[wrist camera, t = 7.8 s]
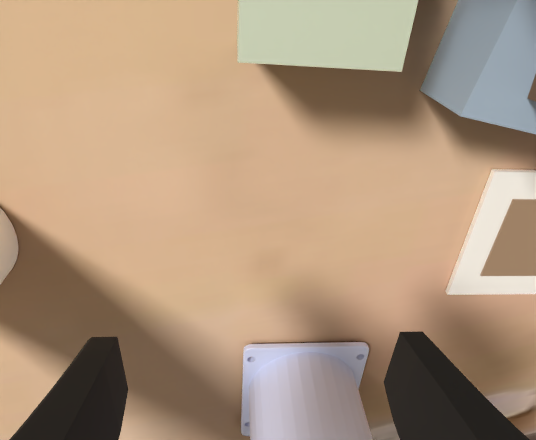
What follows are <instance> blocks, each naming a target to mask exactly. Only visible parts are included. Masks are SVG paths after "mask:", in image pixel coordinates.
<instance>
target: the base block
mask: <svg viewBox="0 0 536 440" xmlns="http://www.w3.org/2000/svg"><path fill="white" fill-rule="evenodd" d="M535 74H536V0H458V2H457V4H456V7H455V9H454V11H453V14H452V16H451V18H450V21H449V23H448V25H447V28H446V30H445V32H444V35H443V37H442V39H441V42H440V44H439V46H438V49H437V51H436V53H435V56H434V58H433V60H432V63H431V65H430V68H429V70H428V72H427V75H426V77H425V79H424V82H423V84H422V86H421V89H420V91H421V92H423V93H425V94H426V95H428V96H429V97H431V98H432V99H434V100H436V101H437V102H439V103H440V104H442V105H443V106H445V107H446V108H448V109H450V110H451V111H453V112H454V113H456V114H457V115H459V116H461V117H465V118H470V119H474V120H478V121H482V122H486V123H490V124H495V125H499V126H503V127H507V128H511V129H515V130H520V131H524V132H528V133H532V134H536V102H535V101H533V100H530V99H528V95H529V92H530V89H531V86H532V83H533V80H534V77H535Z"/></svg>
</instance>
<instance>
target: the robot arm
mask: <svg viewBox="0 0 536 440" xmlns="http://www.w3.org/2000/svg"><path fill="white" fill-rule="evenodd" d="M368 353H369V347H368V345H367V343H365V342H332V343H279V344H249V345H247V346H245V347H244V350H243V380H242V409H241V434H243V435H244V436H250V440H373V438H372V434H371V431H370V428H369V424H368V421H367V418H366V414H365V411H364V408H363V404H362V401H361V397H360V394H359V391H358V389H359V386H360V382H361V379H362V375H363V371H364V368H365V364H366V360H367V357H368ZM384 385H385V389H386V393H387V397H388V402H389V406H390V409H391V413H392V417H393V421H394V424H395V426H396V429H397V432H398V435H399V437H400V440H529V439H528V438H527V437H526V436H525V435H524V434H523V433H522V432H521V431H519V430H518V429H517V428H516V427H515V426H514V425H513V424H512V423H511V422H510V421H509V420H508V419H507V418H506V417H505V416H504V415H503V414H502V413H501V412H499V411H498V410H497V409H496V408H495V407H494V406H493V405H492V404H491V403H490V402H489V401H488V400H487V399H486V398H485V397H484V396H483V395H482V394H481V393H480V392H479V391H478V390H477V388H476V387H475V386H474V385H473V384H472V383H471V382H470V381H469V380H468V379H467V378H466V377H465V376H464V375H463V374H462V373H461V372H460V371H459V370H458V369H457V368H456V367H455V366H454V364H453V363H452V362H451V361H450V360H449V359H448V358H447V357H446V356H445V355H444V354H443V353H442V352H441V351H440V350H439V349H438V347H437V346H436V345H435V344H434V343H433V342H432V341H431V340H430V339H429V338H428V337H427V336H426V335H425V334H424V333H423V332H400V334H399V337H398V340H397V343H396V346H395V349H394V352H393V355H392V358H391V362H390V365H389V368H388V371H387V374H386V377H385V380H384ZM127 393H128V387H127V382H126V377H125V372H124V367H123V362H122V357H121V353H120V348H119V343H118V338H117V337H92V338H90V339H89V340H88V341H87V343H86V344H85V345H84V347H83V348H82V349H81V351H80V352H79V353H78V355H77V356H76V358H75V359H74V360H73V362H72V363H71V364H70V366H69V367H68V368H67V370H66V371H65V372H64V374H63V375H62V376H61V377H60V379H59V380H58V381H57V383H56V384H55V385H54V386H53V388H52V389H51V390H50V392H49V393H48V394H47V395H46V397H45V398H44V399H43V400H42V401H41V403H40V404H39V405H38V406H37V408H36V409H35V410H34V411H33V413H32V414H31V415H30V416H29V417H28V419H27V420H26V421H25V422H24V424H23V425H22V426H21V427H20V428H19V429H18V431H17V432H16V433H15V434H14V435H13V436H12V437H11V439H10V440H118V439H119V435H120V432H121V426H122V421H123V416H124V410H125V404H126V398H127Z"/></svg>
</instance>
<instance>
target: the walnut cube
mask: <svg viewBox="0 0 536 440" xmlns="http://www.w3.org/2000/svg"><path fill="white" fill-rule="evenodd" d="M528 99H530V100H533V101H535V102H536V74H535V77H534V80H533V83H532V86H531V89H530V92H529V95H528Z"/></svg>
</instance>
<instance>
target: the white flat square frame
mask: <svg viewBox="0 0 536 440" xmlns="http://www.w3.org/2000/svg"><path fill="white" fill-rule="evenodd" d="M446 293H447V294H448V295H478V294H536V170H511V169H492V170H491V173H490V175H489V178H488V180H487V183H486V186H485V188H484V191H483V194H482V196H481V199H480V202H479V204H478V207H477V209H476V212H475V215H474V217H473V220H472V223H471V225H470V228H469V231H468V233H467V236H466V238H465V241H464V244H463V246H462V249H461V252H460V254H459V257H458V260H457V262H456V265H455V267H454V270H453V273H452V275H451V278H450V281H449V283H448V286H447V288H446Z"/></svg>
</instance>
